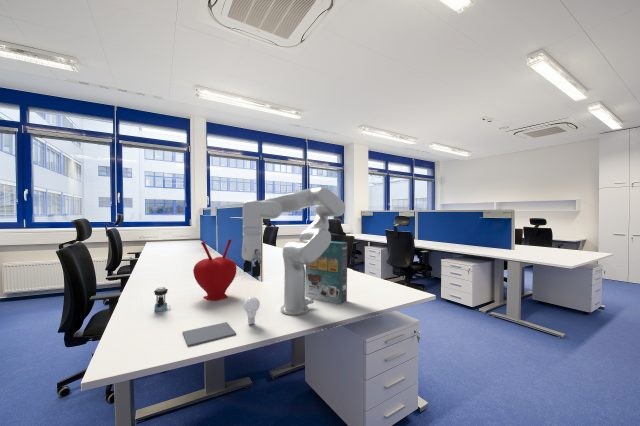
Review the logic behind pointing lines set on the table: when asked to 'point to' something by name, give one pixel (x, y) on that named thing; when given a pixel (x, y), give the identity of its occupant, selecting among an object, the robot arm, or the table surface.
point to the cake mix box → (328, 275)
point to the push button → (160, 299)
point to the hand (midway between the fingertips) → (251, 274)
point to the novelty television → (215, 274)
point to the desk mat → (208, 333)
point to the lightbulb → (251, 308)
